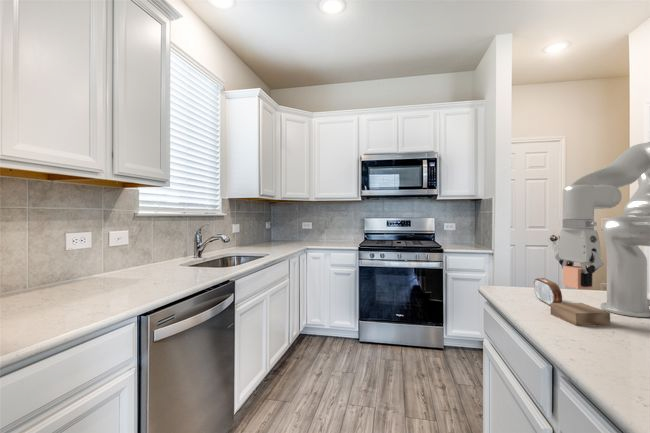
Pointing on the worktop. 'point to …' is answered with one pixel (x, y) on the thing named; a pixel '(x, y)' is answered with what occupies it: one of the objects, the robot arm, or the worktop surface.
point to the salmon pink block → (574, 277)
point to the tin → (547, 291)
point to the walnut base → (580, 314)
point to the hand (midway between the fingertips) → (577, 283)
